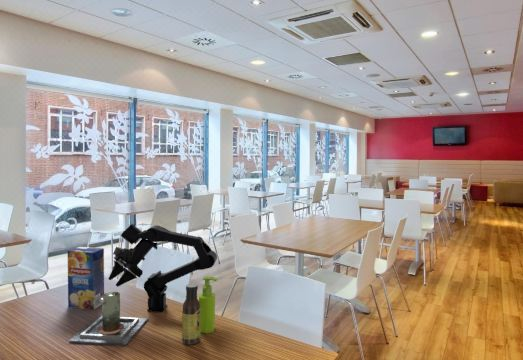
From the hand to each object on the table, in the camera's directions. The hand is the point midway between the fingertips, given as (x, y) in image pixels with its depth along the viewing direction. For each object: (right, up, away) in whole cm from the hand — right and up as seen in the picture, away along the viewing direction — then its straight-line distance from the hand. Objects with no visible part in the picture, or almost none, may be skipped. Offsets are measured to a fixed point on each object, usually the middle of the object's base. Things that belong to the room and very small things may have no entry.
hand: (112, 282), depth 149 cm
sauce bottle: (+35, -16, -18) cm, 42 cm away
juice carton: (-16, -13, +11) cm, 23 cm away
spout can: (+4, -14, -11) cm, 18 cm away
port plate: (+4, -15, -11) cm, 19 cm away
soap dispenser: (+39, -15, -9) cm, 43 cm away
